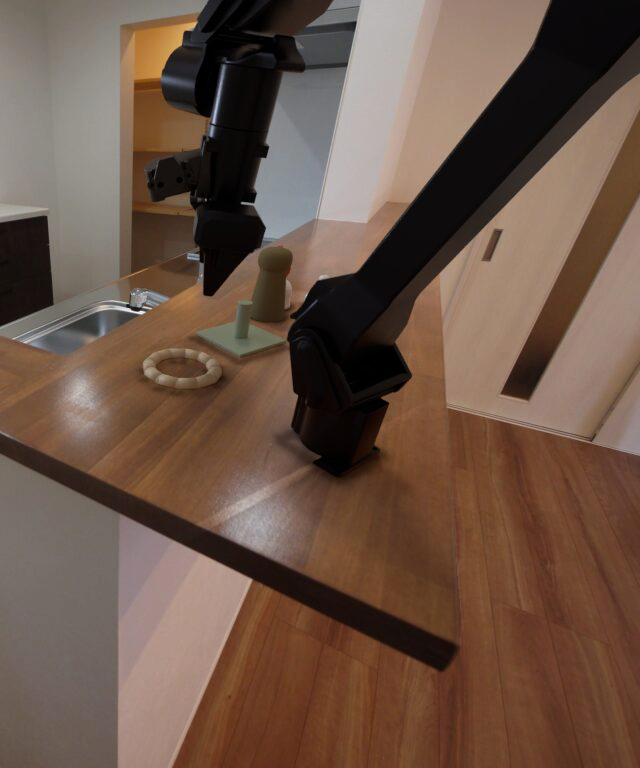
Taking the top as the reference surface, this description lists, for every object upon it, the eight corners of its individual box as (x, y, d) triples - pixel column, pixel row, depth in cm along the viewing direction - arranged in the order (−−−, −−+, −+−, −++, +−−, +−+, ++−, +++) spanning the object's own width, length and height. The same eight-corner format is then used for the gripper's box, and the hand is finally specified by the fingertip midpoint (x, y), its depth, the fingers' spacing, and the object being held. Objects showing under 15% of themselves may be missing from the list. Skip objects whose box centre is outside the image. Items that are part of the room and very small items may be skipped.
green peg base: (285, 347, 60) (293, 306, 57) (239, 362, 56) (245, 318, 53) (239, 326, 67) (245, 288, 64) (195, 339, 63) (198, 298, 60)
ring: (236, 380, 52) (238, 369, 51) (174, 402, 48) (175, 390, 47) (187, 351, 59) (188, 340, 58) (128, 368, 55) (128, 357, 54)
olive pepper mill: (286, 323, 69) (300, 253, 63) (247, 320, 70) (258, 251, 64) (282, 310, 74) (294, 244, 68) (246, 307, 75) (256, 242, 69)
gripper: (158, 106, 48) (142, 241, 58) (151, 131, 34) (131, 306, 43) (256, 118, 48) (224, 252, 58) (291, 148, 34) (240, 320, 43)
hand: (205, 278), depth 51 cm, fingers open, 9 cm apart
